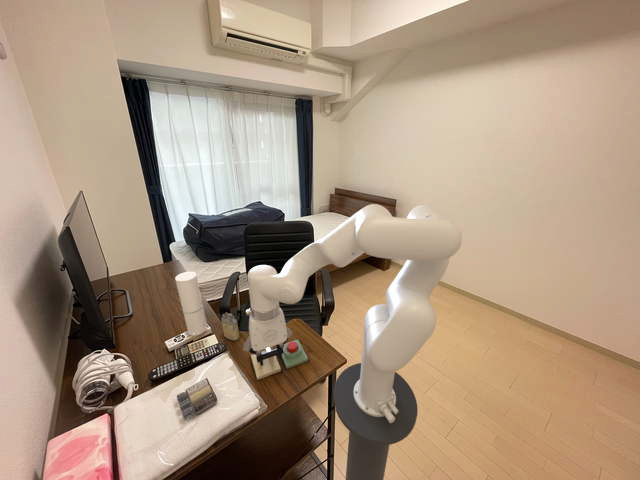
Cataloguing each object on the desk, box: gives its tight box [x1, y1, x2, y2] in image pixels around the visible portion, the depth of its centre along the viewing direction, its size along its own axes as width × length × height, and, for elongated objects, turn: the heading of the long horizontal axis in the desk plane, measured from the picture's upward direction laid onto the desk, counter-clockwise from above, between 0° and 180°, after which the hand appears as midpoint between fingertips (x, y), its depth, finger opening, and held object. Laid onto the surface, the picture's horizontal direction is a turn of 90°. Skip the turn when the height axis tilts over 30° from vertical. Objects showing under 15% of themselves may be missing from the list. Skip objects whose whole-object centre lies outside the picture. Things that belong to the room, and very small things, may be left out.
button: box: [287, 341, 297, 353], centre depth 90 cm, size 4×4×2 cm
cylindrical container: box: [174, 271, 208, 336], centre depth 99 cm, size 7×7×25 cm
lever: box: [262, 347, 279, 360], centre depth 80 cm, size 12×5×2 cm, turn 25°
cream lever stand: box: [250, 346, 282, 381], centre depth 85 cm, size 10×8×12 cm
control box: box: [281, 339, 309, 369], centre depth 91 cm, size 10×8×3 cm
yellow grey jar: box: [221, 312, 240, 342], centre depth 98 cm, size 7×4×10 cm, turn 61°
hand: (270, 358), depth 76 cm, fingers closed on lever, 5 cm apart
